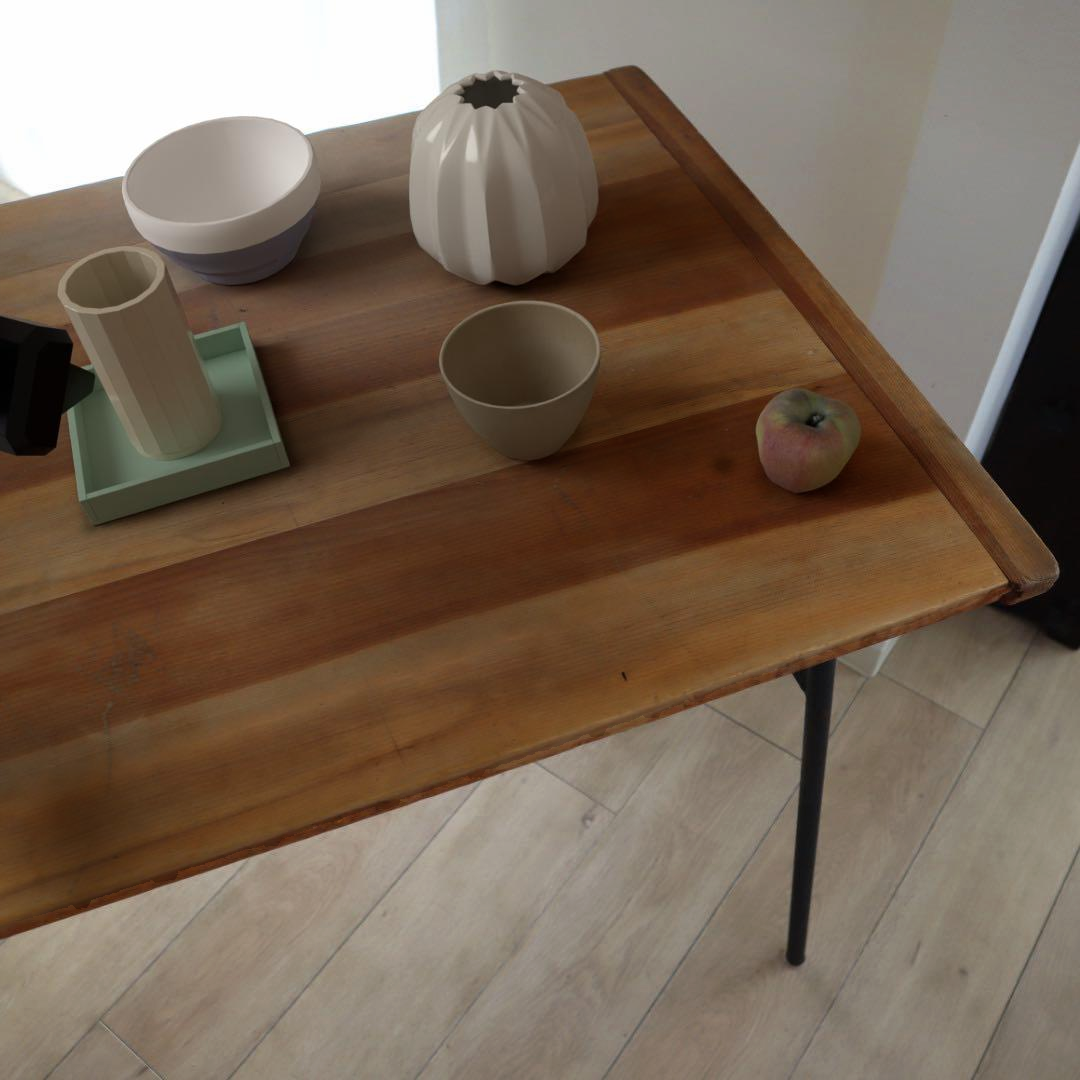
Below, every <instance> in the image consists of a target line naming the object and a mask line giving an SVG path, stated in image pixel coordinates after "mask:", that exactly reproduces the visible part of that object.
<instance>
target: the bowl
mask: <svg viewBox="0 0 1080 1080" xmlns="http://www.w3.org/2000/svg"><path fill="white" fill-rule="evenodd" d="M321 185H322V179H321V171H320V166H319V161H318V157H317V154H316V150H315V149H314V145H313V144H312V142H311V141H310V139H309V138H308V136H307V135H305V134H304V133H303V132H302V131H301V130H300V129H298V128H297V127H294V126H293V125H291V124H289V123H287V122H284V121H280V120H278V119H273V118H271V117H270V118H269V117H264V116H263V117H262V116H253V115H252V116H251V115H249V116H248V115H246V116H245V115H237V116H228V117H227V116H226V117H217V118H213V119H208V120H203V121H200V122H196V123H193V124H189V125H187V126H184V127H182V128H179V129H177V130H174V131H172V132H170V133H168V134H166V135H164V136H162V137H160V138H159V139H157V140H156V141H154V142H152V143H151V144H150V145H149V146H147V147H146V148H144V149H143V150H142V151H141V152H140V153H139V154H138V155H137V156H136V157H135V158H133V161H132V162H131V163H130V165H129V166H128V168H127V169H126V171H125V173H124V176H123V179H122V182H121V194H122V197H123V198H122V199H123V202H124V205H125V208H126V211H127V213H128V216H129V218H130V220H131V222H132V223H133V226H134V227H135V229H136V231H137V232H138V233H139V234H140V235H141V236H142V237H143V238H144V239H145V240H146V241H148V243H150V245H152V247H154V248H155V249H157V250H158V251H159V252H161V253H162V254H164V255H165V256H167V257H168V258H169V259H170V260H171V261H172V262H174V263H175V264H177V265H178V266H179V267H182V268H184V269H185V270H188V271H191V272H192V273H193V274H194V275H196V276H197V277H199V278H201V279H202V280H204V281H207V282H209V283H212V284H216V285H225V286H226V285H227V286H235V285H245V284H250V283H255V282H257V281H261V280H264V279H266V278H269V277H271V276H272V275H275V274H277V273H278V272H279V271H281V270H283V269H284V268H285V267H286V266H288V264H290V263H291V262H292V260H293V259H294V258H295V257H296V255H297V253H298V250H299V249H300V246H301V242H302V241H303V239H304V238H305V236H306V235H307V232H308V230H309V229H310V226H311V223H312V217H313V215H314V213H315V210H316V208H317V205H318V200H319V195H320V192H321Z"/></svg>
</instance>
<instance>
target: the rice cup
mask: <svg viewBox="0 0 1080 1080" xmlns="http://www.w3.org/2000/svg"><path fill="white" fill-rule="evenodd" d="M57 287H58V288H57V297H58V299H59V302H60V303H61V306H62V307H63V310H64V312H65V314H66V315H67V318H68V319H69V322H70V324H71V326H72V328H73V330H74V332H75V334H76V336H77V338H78V340H79V342H80V344H81V346H82V348H83V350H84V352H85V354H86V356H87V359H88V360H89V362H90V365H91V364H92V366H93V369H94V371H95V373H96V375H97V377H98V379H99V381H100V383H101V385H102V387H103V389H104V391H105V393H106V395H107V397H108V399H109V401H110V403H111V405H112V407H113V409H114V411H115V413H116V415H117V417H118V419H119V421H120V423H121V426H122V428H123V430H124V432H125V434H126V436H127V437H128V439H129V441H130V443H131V445H132V447H133V448H134V449H135V450H136V451H137V452H138V453H139V454H141V455H142V456H144V457H147V458H150V459H154V460H174V459H179V458H183V457H186V456H189V455H191V454H194V453H196V452H198V451H200V450H201V449H203V448H204V447H206V446H207V445H208V444H209V443H210V442H211V441H212V440H213V439H214V438H215V437H216V436H217V434H218V433H219V431H220V429H221V427H222V423H223V413H222V409H221V405H220V402H219V400H218V397H217V395H216V392H215V390H214V387H213V384H212V382H211V379H210V377H209V374H208V372H207V369H206V367H205V364H204V362H203V359H202V356H201V354H200V351H199V349H198V346H197V344H196V341H195V339H194V334H193V332H192V328H191V326H190V323H189V320H188V318H187V316H186V313H185V311H184V308H183V305H182V303H181V301H180V298H179V295H178V292H177V290H176V288H175V285H174V283H173V280H172V277H171V275H170V271H169V270H168V267H167V265H166V263H165V262H164V260H163V258H161V256H160V254H159V253H158V252H156V251H153V250H151V249H149V248H147V247H143V246H133V245H122V246H121V245H120V246H115V247H110V248H104V249H101V250H99V251H95V252H94V253H91V254H89V255H86V256H84V257H82V258H81V259H80V260H79V261H77V262H75V263H74V264H73V265H71V266H70V267H69V268H68V269H67V270H66V272H65V273H64V274H63V276H62V277H61V278H60V280H59V282H58V286H57Z"/></svg>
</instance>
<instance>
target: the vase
mask: <svg viewBox="0 0 1080 1080" xmlns="http://www.w3.org/2000/svg"><path fill="white" fill-rule="evenodd" d="M411 132H412V133H411V143H410V166H409V181H408V182H409V183H408V185H409V186H408V187H409V189H408V190H409V191H408V198H409V214H410V215H409V216H410V221H411V222H410V223H411V227H412V231H413V234H414V237H415V239H416V242H417V244H418V247H420V248H421V249H422V250H424V251H425V252H426V253H427V254H428V255H429V256H431V257H432V258H433V259H434V260H435V261H436V262H438V263H439V264H440V265H442V268H444V269H445V270H446V271H447V272H449V273H450V274H453V275H456V276H458V277H460V278H461V279H464V280H466V281H468V282H471V283H473V284H475V285H478V286H481V287H483V286H487V285H489V284H491V283H494V282H496V281H497V282H500V283H504V284H507V285H511V286H515V287H516V286H521V285H525V284H526V283H528V282H530V281H532V280H534V279H536V278H537V277H539V276H540V275H542V274H554V273H556V272H558V271H559V270H560V269H561V268H562V267H563V266H565V265H566V264H567V263H568V262H569V261H570V260H571V259H572V258H573V257H574V256H576V255H577V254H578V253H579V252H580V251H581V250H583V248H584V247H585V246H586V244H587V236H588V229H589V228H590V226H591V224H592V222H593V221H594V220H595V218H596V215H597V213H598V206H599V182H598V178H597V177H598V176H597V171H596V165H595V162H594V158H593V154H592V150H591V146H590V143H589V140H588V137H587V134H586V132H585V128H584V127H583V125H582V124H581V121H580V120H579V119H578V117H577V115H576V113H575V112H574V111H573V110H572V109H570V108H569V107H568V104H567V102H566V101H565V98H564V96H563V94H562V93H561V92H560V91H558V90H556V89H554V88H553V87H551V86H550V85H547V84H545V83H543V82H542V81H539V80H538V79H534V78H532V77H529V76H526V75H523V74H521V73H518V72H508V71H504V70H500V69H499V70H498V69H497V70H490V71H488V72H486V73H479V72H477V73H476V72H475V73H471V74H469V75H467V76H465V77H463V78H461V79H460V80H458V81H456V82H454V83H452V84H450V85H448V86H447V87H446V88H444V90H443V91H442V92H441V93H440V94H438V95H437V96H436V97H434V99H433V100H431V101H430V103H429V104H427V105H426V107H425V108H423V110H421V111H420V112H419V113H418V114H417V117H416V118H415V122H414V126H413V128H412V131H411Z"/></svg>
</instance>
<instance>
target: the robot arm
mask: <svg viewBox="0 0 1080 1080" xmlns="http://www.w3.org/2000/svg"><path fill="white" fill-rule="evenodd" d="M73 349H74V341H73V340H72V338H71V336H70V334H69V332H68V330H67V329H66V328H61V327H57V326H54V325H49V324H46V323H42V322H37V321H36V320H35V321H34V320H30V319H26V318H22V317H17V316H13V315H7V314H3V313H0V452H3V453H5V454H8V455H13V456H15V457H46V456H48V454H50V453H52V451H54V450H55V449H56V448H57V445H58V439H59V433H60V428H61V422H62V416H63V415H64V414H66V413H67V411H68V410H69V409H71V408H72V407H73V406H75V405H76V404H77V403H79V402H80V401H82V400H83V399H84V398H86V397H87V396H88V395H90V394H91V393H92V392H93V388H94V382H95V374H94V373H92V372H90V371H88V370H85V369H83V368H81V367H82V366H78V365H76V364H74V363H71V361H72V356H73Z"/></svg>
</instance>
